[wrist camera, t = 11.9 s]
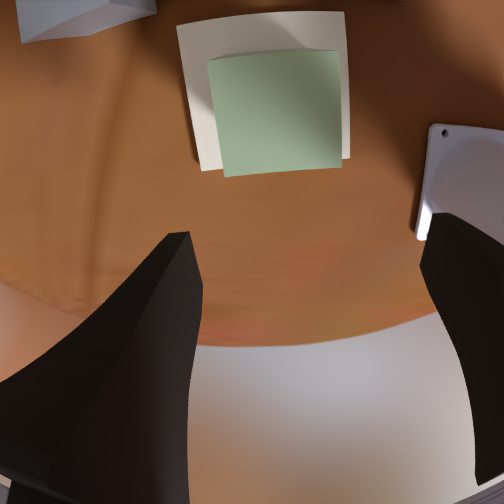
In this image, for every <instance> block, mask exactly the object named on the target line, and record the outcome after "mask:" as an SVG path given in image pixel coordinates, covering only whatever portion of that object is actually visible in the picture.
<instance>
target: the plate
mask: <svg viewBox="0 0 504 504" xmlns="http://www.w3.org/2000/svg"><path fill="white" fill-rule="evenodd" d="M176 28H177V35H178V41H179V47H180V54H181V60H182V66H183V72H184V78H185V84H186V89H187V95H188V101H189V106H190V112H191V118H192V123H193V129H194V134H195V139H196V145H197V150H198V155H199V160H200V166H201V171H207V170H215V169H223V164H222V158H221V152H220V146H219V139H218V133H217V127H216V121H215V114H214V108H213V101H212V95H211V88H210V82H209V75H208V69H207V62H206V61H208V60H210V59H213V58H216V57H219V56H222V55H228V54H235V53H244V52H253V51H264V50H278V49H297V48H312V49H323V50H333V51H339V66H340V85H341V115H342V159H345V158H350V102H349V74H348V55H347V41H346V28H345V17H344V12H337V11H291V12H271V13H258V14H248V15H238V16H230V17H223V18H216V19H210V20H204V21H198V22H193V23H188V24H183V25H178V26H176Z"/></svg>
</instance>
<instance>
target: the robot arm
mask: <svg viewBox="0 0 504 504" xmlns="http://www.w3.org/2000/svg"><path fill="white" fill-rule="evenodd" d="M443 130H445V131H446V132H445V134H444V135H443V136H442V131H443ZM427 232H428V234H426V233H427ZM415 236H416V238H417V239H418V240H426V243H425V247H424V251H423V255H422V258H421V262H420V269H421V272H422V275H423V278H424V281H425V283H426V286H427V289H428V292H429V294H430V296H431V298H432V300H433V302H434V304H435V306H436V309H437V311H438V313H439V314H440V316H441V319H442V321H443V323H444V325H445V327H446V329H447V332H448V334H449V336H450V338H451V340H452V342H453V345H454V347H455V349H456V352H457V355H458V357H459V360H460V363H461V367H462V371H463V374H464V378H465V382H466V386H467V390H468V395H469V400H470V405H471V411H472V418H473V426H474V436H475V477H476V481H477V484H478V486H480V485H482V484H484V483H486V482H488V481H490V480H492V479H494V478H496V477H498V476H500V475H502V474H504V130H497V129H489V128H481V127H472V126H462V125H450V124H437V123H436V124H433V125H431V126H430V128H429V133H428V144H427V154H426V163H425V171H424V179H423V186H422V193H421V200H420V206H419V212H418V217H417V223H416V228H415ZM202 296H203V284H202V280H201V276H200V272H199V268H198V264H197V260H196V256H195V252H194V248H193V244H192V240H191V236H190V232H189V231H187V232H177V233H169V234H168V235H167V236H166V237H165V238H164V239H163V240H162V241H161V242H160V243H159V244H158V245H157V246H156V247H155V248H154V249H153V251H152V252H151V253H150V254H149V255H148V256H147V257H146V258H145V259H144V261H143V262H142V263H141V264H140V265H139V266H138V267H137V268H136V269H135V270H134V272H133V273H132V274H131V275H130V276H129V277H128V278H127V279H126V280H125V281H124V282H123V283H122V284H121V285H120V286H119V287H118V288H117V289H116V290H115V291H114V293H113V294H112V295H111V296H110V297H109V298H108V299H107V300H106V301H105V302H104V303H103V304H102V305H101V306H100V307H99V308H98V309H97V310H96V311H95V312H93V313H92V314H91V315H90V316H89V317H88V318H87V319H86V320H85V321H83V322H82V323H81V324H80V325H79V326H78V327H77V328H76V329H74V330H73V331H72V332H71V333H70V334H68V335H67V336H66V337H65V338H63V339H62V340H61V341H59V342H58V343H57V344H56V345H54V346H53V347H52V348H51V349H49V350H48V351H47V352H46V353H44V354H43V355H41V356H40V357H39V358H37V359H36V360H34V361H33V362H32V363H30V364H29V365H27V366H26V367H25V368H23V369H21V370H20V371H18V372H17V373H15V374H14V375H12V376H10V377H9V378H8V379H6V380H4V381H2V382H0V474H1V475H3V476H5V477H7V478H8V479H11V480H12V482H11V486H10V488H8V487H6V486H4V485H2V484H0V504H190V500H189V487H188V464H187V420H188V396H189V387H190V379H191V372H192V367H193V361H194V355H195V349H196V344H197V338H198V333H199V327H200V321H201V314H202ZM454 504H504V480H503V481H501V482H499V483H497V484H496V485H493V486H491V487H489V488H487V489H485V490H483V491H481V492H479V493H477V494H475V495H473V496H471V497H468V498H466V499H463V500H461V501H459V502H456V503H454Z"/></svg>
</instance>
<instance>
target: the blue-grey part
mask: <svg viewBox="0 0 504 504" xmlns="http://www.w3.org/2000/svg"><path fill="white" fill-rule="evenodd" d="M16 8H17V16H18V24H19V31H20V37H21V43H22V44H23V43H29V42H35V41H42V40H49V39H58V38H68V37H79V36H89V35H92V34H94V33H97V32H100V31H103V30H105V29H108V28H111V27H114V26H117V25H120V24H123V23H126V22H129V21H133V20H136V19H139V18H143V17H146V16H150V15H154V14H157V8H156V1H155V0H16Z"/></svg>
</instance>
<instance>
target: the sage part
mask: <svg viewBox="0 0 504 504" xmlns="http://www.w3.org/2000/svg"><path fill="white" fill-rule="evenodd" d="M206 62H207V69H208V75H209V82H210V88H211V95H212V101H213V108H214V114H215V121H216V127H217V133H218V139H219V146H220V152H221V158H222V164H223V170H224V176H225V177H230V176H239V175H249V174H259V173H269V172H281V171H293V170H307V169H322V168H339V167H342V115H341V85H340V66H339V51H333V50H323V49H312V48H297V49H278V50H264V51H253V52H244V53H235V54H228V55H222V56H219V57H216V58H213V59H210V60H208V61H206Z"/></svg>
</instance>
